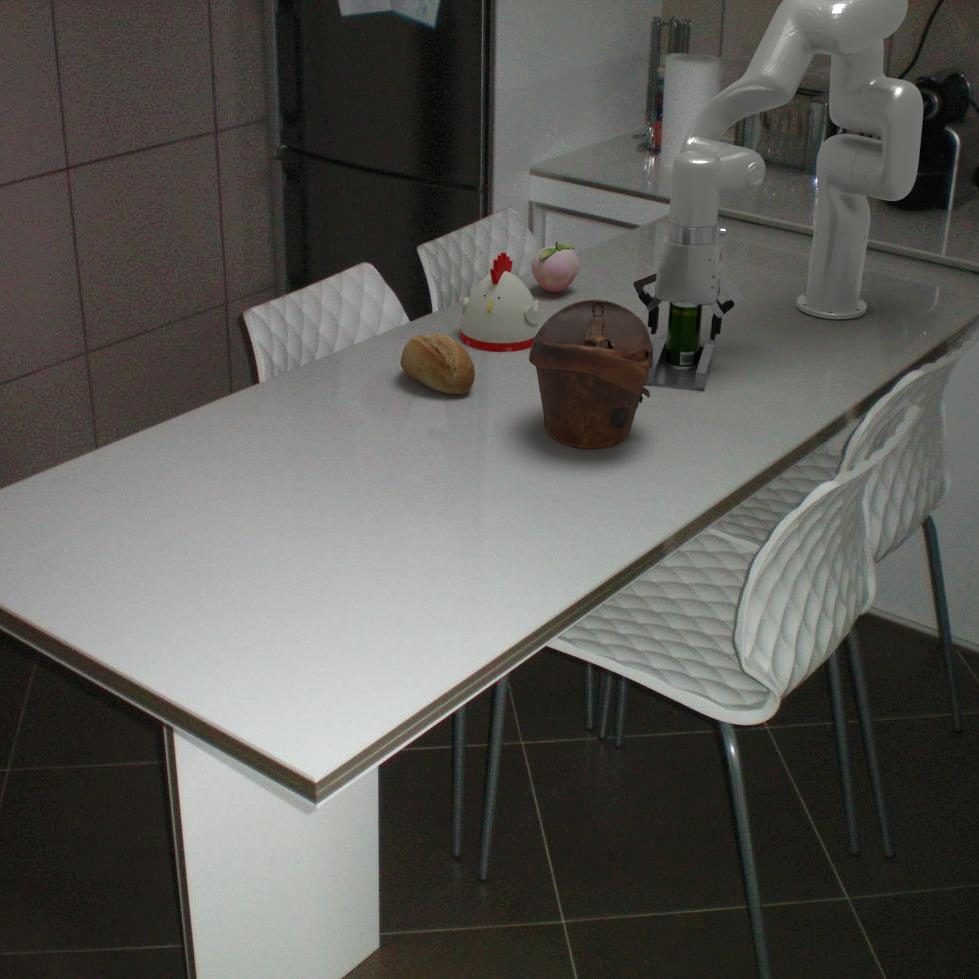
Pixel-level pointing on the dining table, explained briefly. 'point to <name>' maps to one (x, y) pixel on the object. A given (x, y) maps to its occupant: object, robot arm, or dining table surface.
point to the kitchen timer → (500, 312)
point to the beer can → (683, 335)
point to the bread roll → (438, 363)
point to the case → (591, 372)
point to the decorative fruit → (555, 267)
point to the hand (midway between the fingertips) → (683, 334)
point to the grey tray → (680, 378)
